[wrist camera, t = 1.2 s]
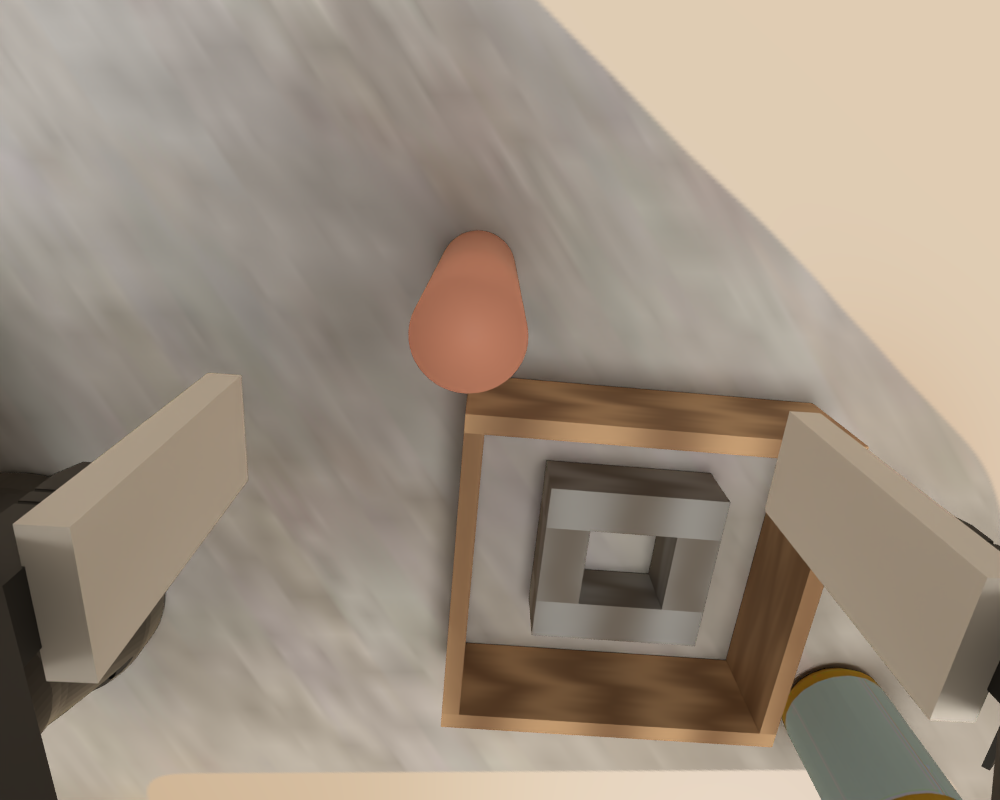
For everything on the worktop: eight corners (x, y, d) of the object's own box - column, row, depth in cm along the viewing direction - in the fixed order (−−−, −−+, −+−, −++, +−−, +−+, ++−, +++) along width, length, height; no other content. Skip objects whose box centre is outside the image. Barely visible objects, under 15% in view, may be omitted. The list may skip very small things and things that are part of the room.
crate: (447, 653, 44) (440, 726, 38) (469, 374, 37) (465, 413, 31) (737, 672, 45) (772, 747, 39) (812, 403, 38) (868, 446, 32)
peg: (438, 302, 35) (406, 388, 22) (443, 227, 34) (411, 271, 21) (511, 308, 35) (521, 397, 22) (518, 234, 34) (534, 283, 21)
